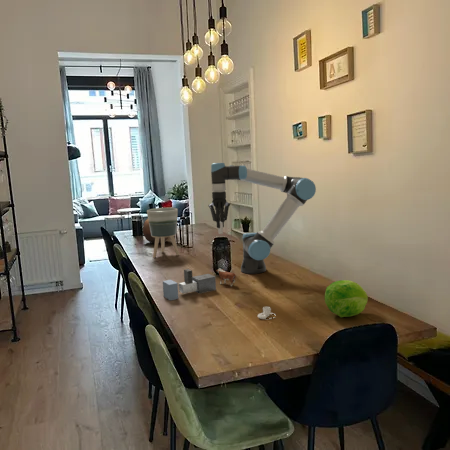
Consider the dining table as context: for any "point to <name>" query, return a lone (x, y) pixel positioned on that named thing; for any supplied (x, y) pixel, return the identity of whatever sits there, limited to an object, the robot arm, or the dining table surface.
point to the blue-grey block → (170, 289)
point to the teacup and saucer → (265, 313)
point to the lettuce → (345, 298)
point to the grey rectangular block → (205, 283)
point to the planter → (163, 226)
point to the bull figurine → (226, 276)
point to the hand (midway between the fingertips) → (220, 233)
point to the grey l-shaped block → (188, 283)
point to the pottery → (149, 233)
